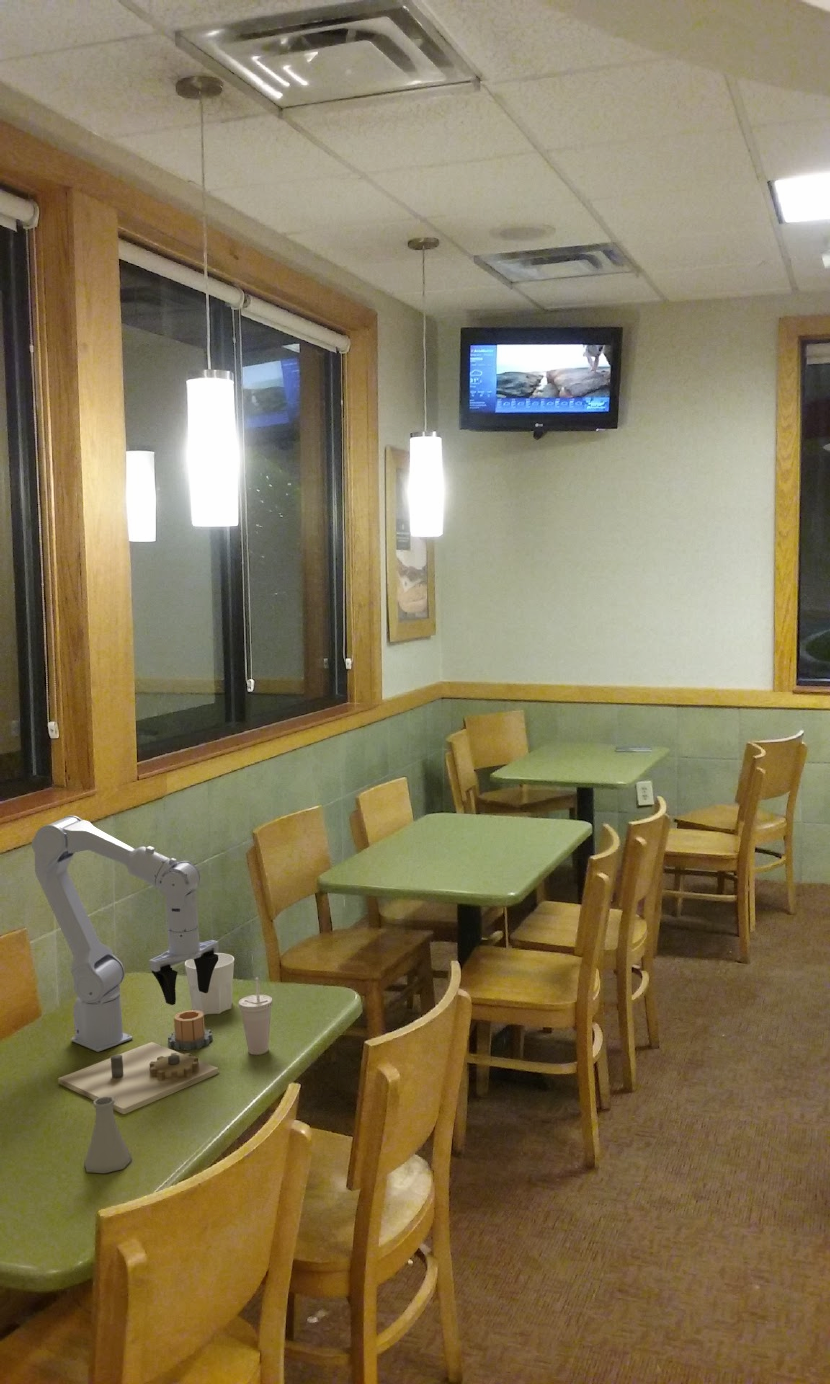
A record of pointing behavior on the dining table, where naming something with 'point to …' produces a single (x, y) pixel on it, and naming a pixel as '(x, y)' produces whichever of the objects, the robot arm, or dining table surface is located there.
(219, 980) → the cup
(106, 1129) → the flask
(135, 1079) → the carrier
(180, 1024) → the planet gear
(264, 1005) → the smoothie
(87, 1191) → the dining table surface
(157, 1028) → the dining table surface
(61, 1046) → the dining table surface
